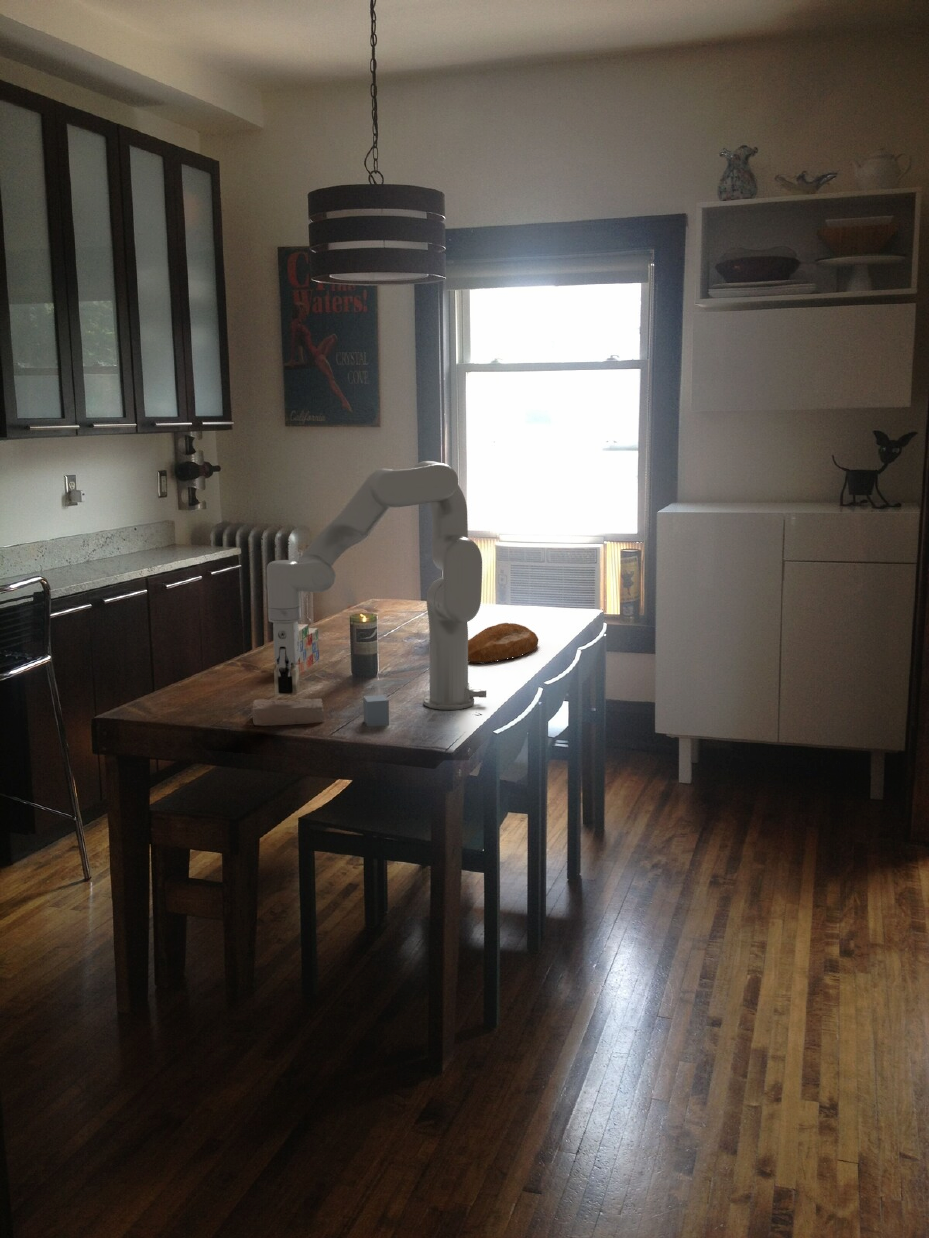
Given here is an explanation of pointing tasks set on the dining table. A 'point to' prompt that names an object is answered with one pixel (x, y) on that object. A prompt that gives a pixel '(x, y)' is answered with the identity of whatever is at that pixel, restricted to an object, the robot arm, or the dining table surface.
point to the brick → (287, 712)
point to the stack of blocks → (307, 647)
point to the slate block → (376, 710)
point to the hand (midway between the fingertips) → (287, 689)
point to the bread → (501, 643)
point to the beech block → (294, 679)
